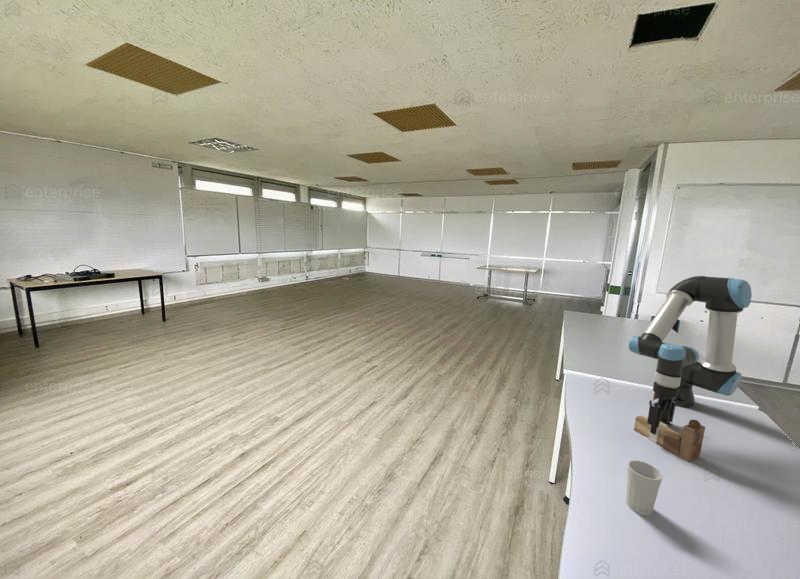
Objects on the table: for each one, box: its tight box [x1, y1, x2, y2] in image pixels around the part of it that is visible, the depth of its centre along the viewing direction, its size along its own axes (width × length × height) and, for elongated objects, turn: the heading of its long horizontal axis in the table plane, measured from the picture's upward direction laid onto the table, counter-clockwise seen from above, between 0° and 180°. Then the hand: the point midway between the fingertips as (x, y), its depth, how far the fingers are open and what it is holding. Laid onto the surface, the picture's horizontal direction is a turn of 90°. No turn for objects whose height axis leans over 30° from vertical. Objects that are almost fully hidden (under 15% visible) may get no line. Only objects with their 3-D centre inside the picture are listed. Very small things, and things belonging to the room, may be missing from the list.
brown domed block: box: [661, 419, 706, 462], centre depth 117 cm, size 8×8×14 cm
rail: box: [633, 415, 682, 446], centre depth 125 cm, size 4×16×6 cm, turn 21°
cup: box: [625, 459, 663, 517], centre depth 92 cm, size 8×8×12 cm
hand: (656, 439), depth 126 cm, fingers open, 4 cm apart
